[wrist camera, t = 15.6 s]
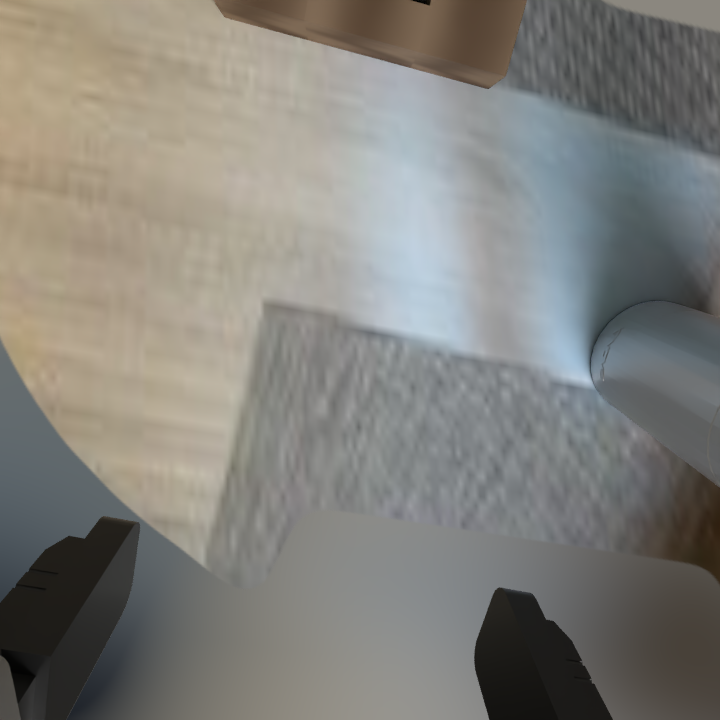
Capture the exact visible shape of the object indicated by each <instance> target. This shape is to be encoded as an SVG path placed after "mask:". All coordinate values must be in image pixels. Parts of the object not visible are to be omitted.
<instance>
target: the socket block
mask: <svg viewBox="0 0 720 720" xmlns="http://www.w3.org/2000/svg"><path fill="white" fill-rule="evenodd" d="M214 1H215V3H216V4H217V6H218V8H219V9H220V11H221V12H222V14H223V16H224V17H226V18H229V19H233V20H237V21H240V22H244V23H248V24H251V25H255V26H259V27H262V28H266V29H270V30H273V31H277V32H281V33H284V34H288V35H292V36H295V37H299V38H303V39H306V40H310V41H314V42H317V43H321V44H325V45H328V46H332V47H336V48H339V49H343V50H347V51H351V52H354V53H358V54H362V55H365V56H369V57H373V58H376V59H380V60H384V61H387V62H391V63H395V64H398V65H402V66H406V67H409V68H413V69H417V70H420V71H424V72H428V73H431V74H435V75H439V76H442V77H446V78H450V79H453V80H457V81H461V82H464V83H468V84H472V85H476V86H479V87H483V88H487V89H489V88H490V87H492V86H493V85H494V84H496V83H497V82H498V81H500V80H501V79H502V78H504V77H505V76H506V73H507V70H508V66H509V63H510V59H511V55H512V52H513V48H514V45H515V41H516V37H517V34H518V30H519V27H520V23H521V20H522V16H523V12H524V9H525V5H526V2H527V0H426V4H422V3H419V2H415V1H412V0H214Z"/></svg>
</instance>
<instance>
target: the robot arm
mask: <svg viewBox="0 0 720 720" xmlns="http://www.w3.org/2000/svg"><path fill="white" fill-rule="evenodd" d="M591 373H592V378H593V382H594V384H595V386H596V389H597V391H598V392H599V393H600V395H601V396H602V397H603V398H604V399H605V400H606V401H607V402H608V403H610V404H611V405H612V406H614V407H615V408H616V409H617V410H619V411H620V412H621V413H623V414H624V415H625V416H627V417H628V418H629V419H630V420H632V421H633V422H634V423H635V424H637V425H638V426H639V427H641V428H642V429H643V430H645V431H646V432H647V433H648V434H650V435H651V436H652V437H654V438H655V439H656V440H658V441H659V442H660V443H662V444H663V445H664V446H666V447H667V448H668V449H670V450H671V451H672V452H674V453H675V454H676V455H678V456H679V457H680V458H682V459H683V460H684V461H686V462H687V463H688V464H689V465H691V466H692V467H693V468H695V469H696V470H697V471H699V472H700V473H701V474H703V475H704V476H705V477H707V478H708V479H709V480H711V481H712V482H713V483H715V484H716V485H717V486H719V487H720V317H717V316H714V315H711V314H708V313H705V312H702V311H699V310H695V309H692V308H689V307H685V306H682V305H679V304H675V303H671V302H667V301H650V302H644V303H640V304H637V305H635V306H632V307H630V308H628V309H626V310H625V311H623V312H621V313H620V314H618V315H617V316H616V317H615V318H614V319H613V320H612V321H610V322H609V323H608V324H607V326H606V327H605V328H604V330H603V331H602V332H601V334H600V335H599V337H598V339H597V342H596V344H595V346H594V349H593V353H592V357H591ZM139 532H140V524H139V522H134V521H128V520H123V519H117V518H111V517H106V516H103V517H101V518H100V519H99V521H98V522H97V523H96V525H95V526H94V527H93V529H92V530H91V531H90V533H89V534H88V535H87V537H86V538H85V539H83V538H78V537H72V536H68V537H66V538H65V539H63V540H61V541H59V542H58V543H56V544H54V545H53V546H51V547H49V548H48V549H46V550H45V551H44V552H43V553H42V554H41V555H40V557H39V558H38V559H37V560H36V561H35V563H34V564H33V565H32V566H31V567H30V569H29V571H28V572H26V573H25V574H24V576H23V577H22V578H21V579H20V580H19V581H18V583H17V584H16V587H15V588H12V590H11V591H10V592H9V593H8V595H7V596H6V597H5V598H4V599H3V600H2V601H1V603H0V720H66V719H67V717H68V715H69V714H70V712H71V710H72V708H73V706H74V704H75V702H76V700H77V699H78V697H79V695H80V693H81V691H82V689H83V687H84V685H85V683H86V682H87V680H88V678H89V676H90V674H91V672H92V670H93V668H94V666H95V664H96V663H97V661H98V659H99V657H100V655H101V653H102V651H103V649H104V648H105V646H106V644H107V642H108V640H109V638H110V636H111V634H112V632H113V630H114V629H115V627H116V625H117V623H118V621H119V619H120V617H121V615H122V613H123V611H124V609H125V607H126V604H127V601H128V598H129V595H130V591H131V587H132V583H133V576H134V569H135V561H136V554H137V547H138V540H139ZM474 659H475V660H474V661H475V670H476V674H477V677H478V681H479V685H480V688H481V692H482V695H483V699H484V702H485V706H486V709H487V713H488V716H489V720H613V719H612V717H611V715H610V713H609V711H608V710H607V707H606V705H605V704H604V702H603V700H602V698H601V696H600V694H599V692H598V690H597V688H596V686H595V684H592V679H591V677H590V675H589V673H588V671H587V669H586V667H585V666H583V665H582V660H581V658H580V656H579V654H578V652H577V650H576V648H575V646H574V644H573V642H572V641H571V640H570V638H569V637H568V636H567V635H566V634H565V633H564V632H563V631H562V630H561V629H560V628H559V627H558V625H557V624H556V623H555V622H554V621H550V620H546V619H545V617H544V614H543V612H542V610H541V608H540V606H539V604H538V602H537V600H536V598H535V597H534V595H533V594H531V593H527V592H522V591H516V590H511V589H505V588H498V589H497V590H495V592H494V594H493V597H492V599H491V602H490V605H489V607H488V611H487V613H486V616H485V619H484V621H483V624H482V627H481V630H480V633H479V636H478V638H477V641H476V646H475V656H474Z"/></svg>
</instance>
